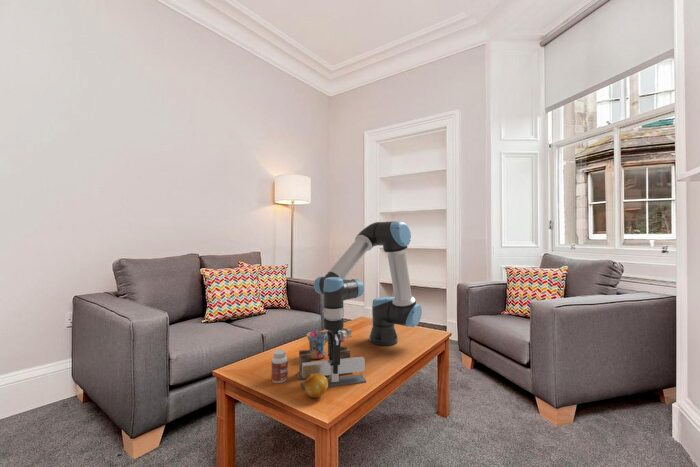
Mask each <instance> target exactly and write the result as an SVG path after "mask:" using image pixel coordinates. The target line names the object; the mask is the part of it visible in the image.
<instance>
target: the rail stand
mask: <svg viewBox="0 0 700 467" xmlns="http://www.w3.org/2000/svg"><path fill="white" fill-rule="evenodd" d="M344 358H351V350H350V349H348V346H347V345H343V346H342V345H340V359H344ZM298 360H299V362H298V364H299V366H298V367H299V368H298V369H299V371H296V376H297V380H298V381H300V380H306V378H303V377H302V363H306V362H312V358H311V354H309V349H301V350H300V349H299V350H298ZM353 373H354V372H351V373H343V374H339V376H342V375H343V376H345V375H350V374H351V375H354V374H353ZM325 377H326V378H327V377H329V375H326V376H325Z"/></svg>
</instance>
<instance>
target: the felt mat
mask: <svg viewBox="0 0 700 467" xmlns="http://www.w3.org/2000/svg"><path fill="white" fill-rule="evenodd" d="M326 378H327V377H326ZM305 381H306V380H303V381H301V385H302V389H303V391H305ZM327 381H328V388H331V387H332V388H333V387H338V386H347V385H354V384H364V383H367V379H366V378H365V377H364V375H363V374H351V375H343V376H339V381H338V382H331V378H327Z"/></svg>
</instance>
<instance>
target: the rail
mask: <svg viewBox="0 0 700 467" xmlns="http://www.w3.org/2000/svg"><path fill="white" fill-rule="evenodd" d="M365 361H366V360H365V357H364V356H355V357H350V358H344V359H340V365H339V374H343V373H351V372H353V373H359V372H365V371H366V362H365ZM330 363H332V360H329V359H328V360H317V361H311V362H306V363H302V377H303V378H306V377H307V376H308V375H309V374H313V373H320V374H322V375H324V376H326V375H331V366H330Z"/></svg>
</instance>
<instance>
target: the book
mask: <svg viewBox="0 0 700 467" xmlns="http://www.w3.org/2000/svg"><path fill="white" fill-rule="evenodd" d="M327 331H329V330H324V332H326V333H327ZM352 331H353V329H352V328H345V327H343V329H341V330H339V331H338V334H340V339H339V340H341V342H344V341H345V339H348V338H351V337H352ZM326 339H327V335H326V337H325V341H326Z"/></svg>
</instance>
